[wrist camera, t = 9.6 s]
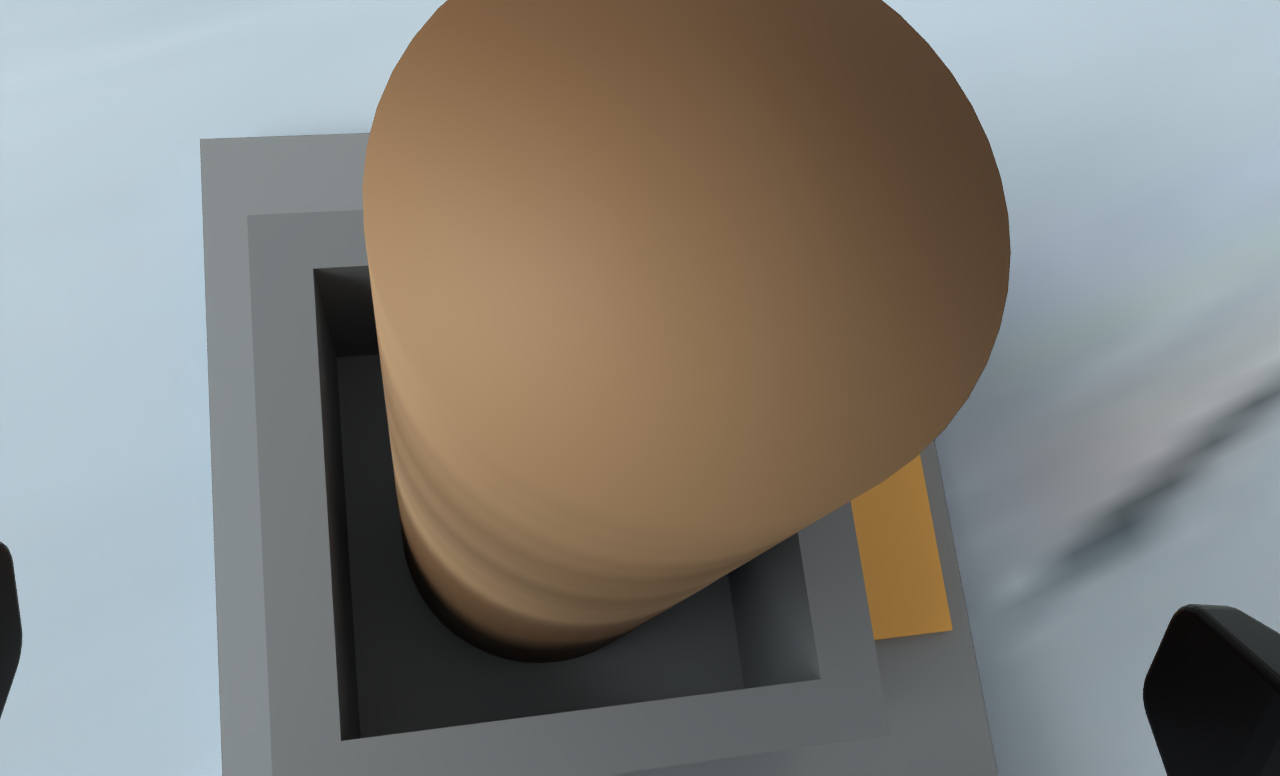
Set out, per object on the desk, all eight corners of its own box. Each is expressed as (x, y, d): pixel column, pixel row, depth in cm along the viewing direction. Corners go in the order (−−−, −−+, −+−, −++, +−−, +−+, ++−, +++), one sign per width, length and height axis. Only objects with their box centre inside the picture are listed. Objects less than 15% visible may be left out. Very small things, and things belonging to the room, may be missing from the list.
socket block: (1103, 1479, 18) (1344, 1752, 13) (268, 1710, 16) (195, 2139, 11) (854, 140, 23) (961, -9, 19) (210, 165, 21) (145, 2, 16)
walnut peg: (641, 693, 19) (962, 605, 8) (366, 624, 18) (268, 421, 7) (699, 431, 20) (1044, 25, 9) (445, 361, 20) (467, -157, 9)
